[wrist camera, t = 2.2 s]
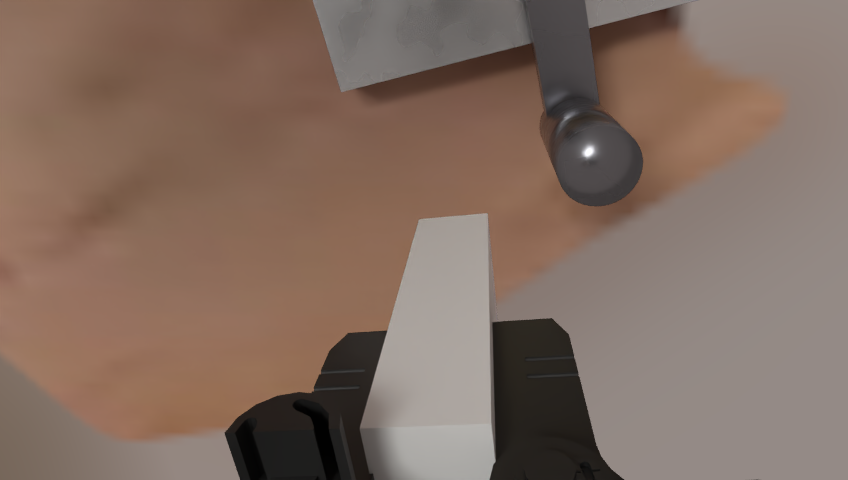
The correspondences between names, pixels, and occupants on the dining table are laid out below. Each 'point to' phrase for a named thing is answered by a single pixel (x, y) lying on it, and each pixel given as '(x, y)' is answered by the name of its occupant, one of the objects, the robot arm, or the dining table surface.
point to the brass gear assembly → (578, 108)
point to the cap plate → (436, 32)
